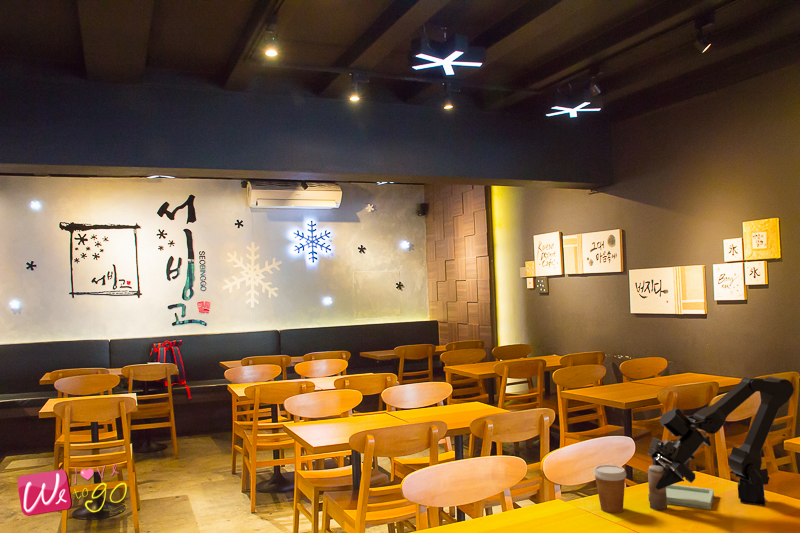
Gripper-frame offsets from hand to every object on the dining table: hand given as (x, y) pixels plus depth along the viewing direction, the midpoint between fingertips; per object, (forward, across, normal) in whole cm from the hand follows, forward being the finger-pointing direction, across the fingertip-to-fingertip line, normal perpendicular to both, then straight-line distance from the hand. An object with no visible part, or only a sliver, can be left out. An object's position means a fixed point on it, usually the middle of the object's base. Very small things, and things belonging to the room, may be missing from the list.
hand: (652, 485), depth 178 cm
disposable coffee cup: (+14, -1, -4) cm, 14 cm away
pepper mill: (+4, 0, +6) cm, 7 cm away
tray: (-4, -6, +13) cm, 15 cm away
